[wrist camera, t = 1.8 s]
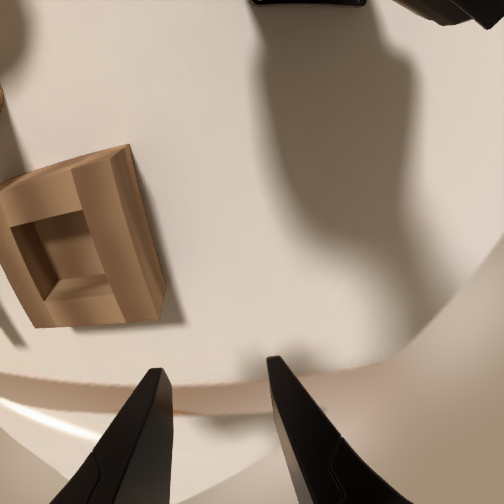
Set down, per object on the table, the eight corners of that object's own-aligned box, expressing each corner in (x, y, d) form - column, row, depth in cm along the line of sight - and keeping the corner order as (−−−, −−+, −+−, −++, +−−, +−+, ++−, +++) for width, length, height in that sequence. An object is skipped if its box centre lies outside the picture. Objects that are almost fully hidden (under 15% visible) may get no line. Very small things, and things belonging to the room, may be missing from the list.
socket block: (128, 143, 17) (109, 159, 14) (166, 285, 22) (159, 319, 19) (3, 181, 17) (-25, 201, 14) (51, 298, 22) (35, 328, 19)
